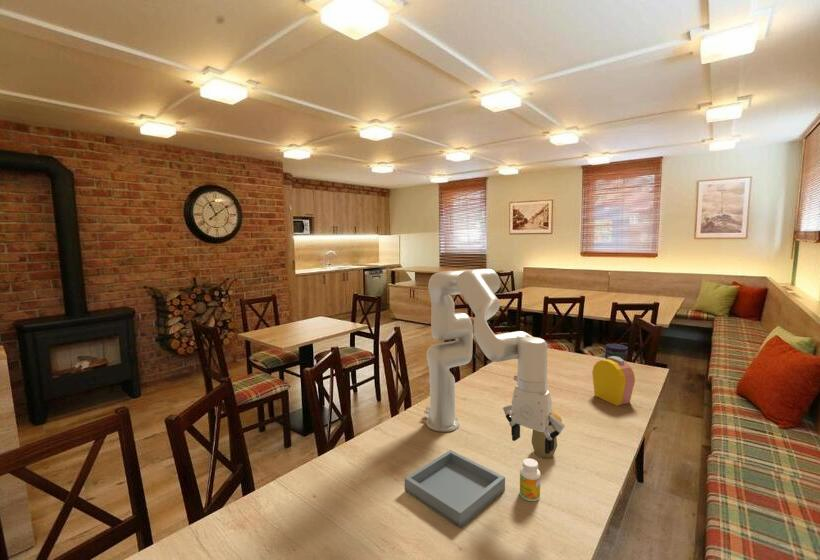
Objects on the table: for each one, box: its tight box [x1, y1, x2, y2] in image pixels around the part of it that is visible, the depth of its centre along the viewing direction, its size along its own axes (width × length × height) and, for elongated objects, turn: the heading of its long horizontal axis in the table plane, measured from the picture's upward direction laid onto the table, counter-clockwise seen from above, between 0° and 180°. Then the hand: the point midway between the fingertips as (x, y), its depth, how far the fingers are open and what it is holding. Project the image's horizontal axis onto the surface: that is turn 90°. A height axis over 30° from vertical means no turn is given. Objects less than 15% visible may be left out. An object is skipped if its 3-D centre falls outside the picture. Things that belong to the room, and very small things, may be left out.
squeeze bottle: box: [531, 424, 558, 459], centre depth 127 cm, size 8×8×18 cm
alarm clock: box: [592, 356, 636, 406], centre depth 167 cm, size 15×8×18 cm, turn 22°
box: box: [404, 449, 506, 529], centre depth 110 cm, size 20×20×4 cm
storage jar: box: [604, 342, 628, 362], centre depth 195 cm, size 10×10×15 cm
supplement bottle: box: [519, 457, 541, 502], centre depth 107 cm, size 5×5×10 cm
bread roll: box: [552, 410, 563, 423], centre depth 149 cm, size 8×9×4 cm
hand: (532, 445), depth 105 cm, fingers open, 9 cm apart
